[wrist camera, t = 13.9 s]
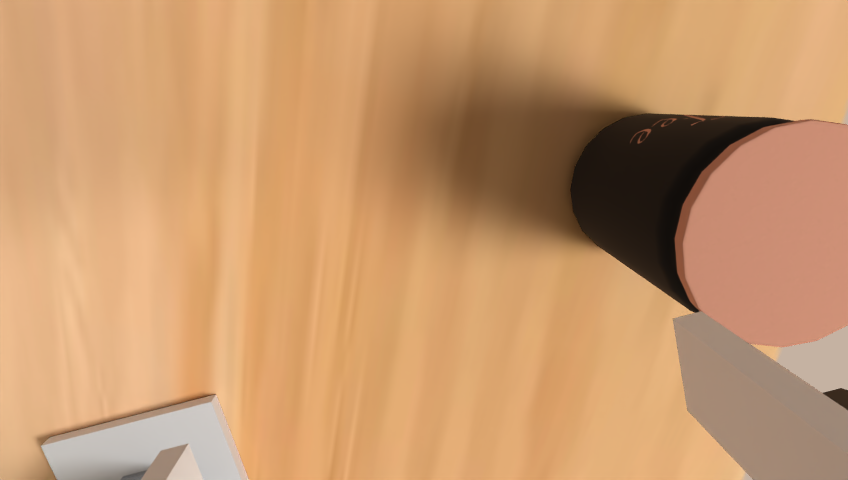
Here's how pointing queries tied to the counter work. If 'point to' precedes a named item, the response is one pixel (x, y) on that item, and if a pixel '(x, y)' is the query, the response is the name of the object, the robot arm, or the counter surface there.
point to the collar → (134, 476)
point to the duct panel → (148, 444)
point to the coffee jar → (726, 217)
